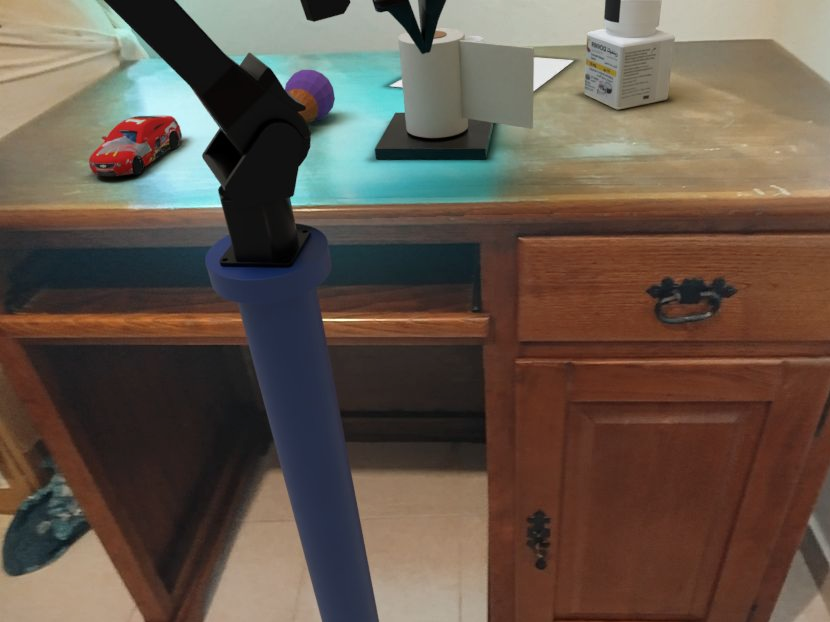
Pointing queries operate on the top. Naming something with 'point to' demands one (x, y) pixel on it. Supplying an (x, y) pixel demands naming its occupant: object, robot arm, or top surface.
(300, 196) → the top surface
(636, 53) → the container
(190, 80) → the robot arm
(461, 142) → the holder
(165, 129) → the race car
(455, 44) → the towel roll
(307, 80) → the kendama
